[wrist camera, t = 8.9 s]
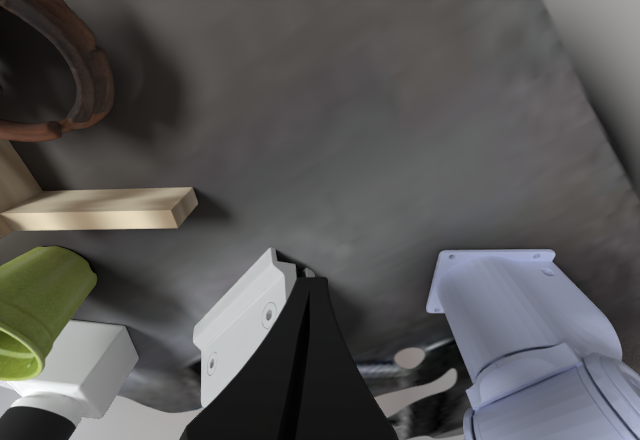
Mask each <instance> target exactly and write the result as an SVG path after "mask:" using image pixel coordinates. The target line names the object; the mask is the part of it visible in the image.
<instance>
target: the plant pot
mask: <svg viewBox="0 0 640 440" xmlns="http://www.w3.org/2000/svg"><path fill="white" fill-rule="evenodd" d="M96 283H97V275H96V274H95V273H93V272H92V270H91V269H90V266H89V263H88V262H87V261H86V260H85V259H84V258H82V257H81V256H79V255H78V254H76V253H74V252H72V251H70V250H67V249H65V248H61V247H57V246H50V247H37V248H34V249H33V250H31V251H29V252H27V253H25V254H23V255H21V256H19V257H17V258H15V259H13V260H11V261H9V262H8V263H6V264H4V265H2V266H0V380H3V381H24V380H28V379H32V378H35V377H37V376H38V375H39V374H40V373H41V372H42V371H43V369H44V367H45V359H46V357H47V356H48V354H49V353H50V351H51V350H52V347H53V343H54V341H55V340H56V339H57V337H58V336H59V334H60V333H61V332H62V330H63V329H64V328H65V326H66V325H67V323H68V322H69V321H70V319H71V318H72V316H73V315H74V314H75V312H76V311H77V309H78V308H79V307H80V305H81V304H82V302H83V301H84V300H85V298H86V297H87V296H88V294H89V293H90V292H91V290H92V289H93V288H94V286H95V285H96Z"/></svg>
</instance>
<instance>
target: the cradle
mask: <svg viewBox="0 0 640 440" xmlns="http://www.w3.org/2000/svg"><path fill="white" fill-rule="evenodd" d="M197 205H198V201H197V198H196V195H195V192H194V190H193V187H183V188H144V189H106V190H67V191H42V189H41V188H40V186H39V185H38V183H37V182H36V180H35V179H34V177H33V176H32V174H31V173H30V171H29V170H28V168H27V167H26V165H25V164H24V162H23V161H22V159H21V158H20V156H19V155H18V154H17V152H16V151H15V149H14V148H13V146H12V145H11V143H10V142H9V140H6V139H2V138H0V238H2V237H4V236H5V235H7V234H9V233H10V232H12V231H24V230H86V229H149V228H178V227H179V226H180V225H181V224H182V223H183V221H184V220H185V219H186V218H187V217H188V215H189V214H190V213H191V212H192V211H193V209H194V208H195V207H196V206H197Z"/></svg>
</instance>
